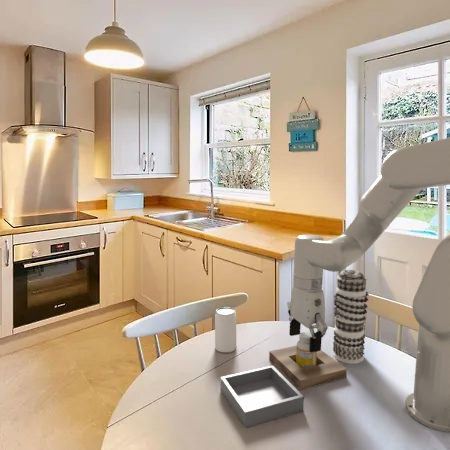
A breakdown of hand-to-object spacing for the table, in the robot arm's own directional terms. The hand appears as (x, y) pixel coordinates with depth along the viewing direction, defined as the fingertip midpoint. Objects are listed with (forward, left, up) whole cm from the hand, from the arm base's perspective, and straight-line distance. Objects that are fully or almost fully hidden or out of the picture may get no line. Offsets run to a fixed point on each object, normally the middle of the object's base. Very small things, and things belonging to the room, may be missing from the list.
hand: (304, 342), depth 102 cm
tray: (-9, +18, -7) cm, 21 cm away
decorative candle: (0, -15, -7) cm, 17 cm away
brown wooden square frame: (-1, 0, -7) cm, 7 cm away
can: (+18, +16, -7) cm, 25 cm away
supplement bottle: (-1, 0, -7) cm, 7 cm away
